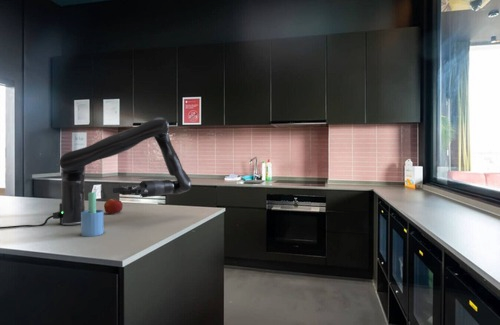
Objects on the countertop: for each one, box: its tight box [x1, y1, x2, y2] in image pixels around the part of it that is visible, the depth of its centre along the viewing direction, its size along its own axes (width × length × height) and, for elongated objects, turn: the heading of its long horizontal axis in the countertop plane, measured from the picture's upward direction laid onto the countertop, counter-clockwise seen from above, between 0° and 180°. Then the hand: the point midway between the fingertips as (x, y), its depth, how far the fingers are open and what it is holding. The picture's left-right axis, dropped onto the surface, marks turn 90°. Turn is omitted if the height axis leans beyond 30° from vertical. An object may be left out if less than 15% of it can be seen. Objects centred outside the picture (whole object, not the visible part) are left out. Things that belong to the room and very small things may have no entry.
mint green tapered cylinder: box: [87, 192, 97, 213], centre depth 125 cm, size 3×3×16 cm
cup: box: [80, 209, 105, 237], centre depth 125 cm, size 8×8×9 cm
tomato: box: [103, 198, 124, 214], centre depth 167 cm, size 9×9×8 cm
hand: (117, 191), depth 132 cm, fingers open, 8 cm apart
